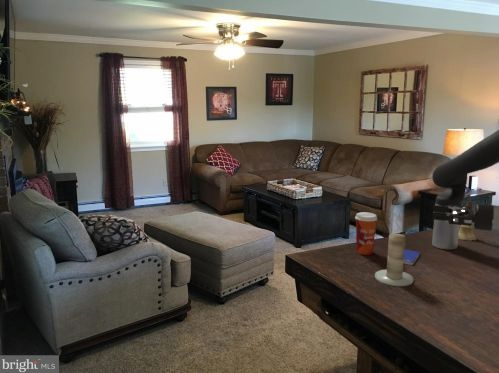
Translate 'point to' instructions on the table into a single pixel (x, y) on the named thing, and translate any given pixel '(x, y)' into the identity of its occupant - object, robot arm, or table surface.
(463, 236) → the hand bell
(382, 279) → the white plate
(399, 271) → the wooden cylinder
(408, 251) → the hard drive
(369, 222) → the coffee cup
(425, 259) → the table surface
